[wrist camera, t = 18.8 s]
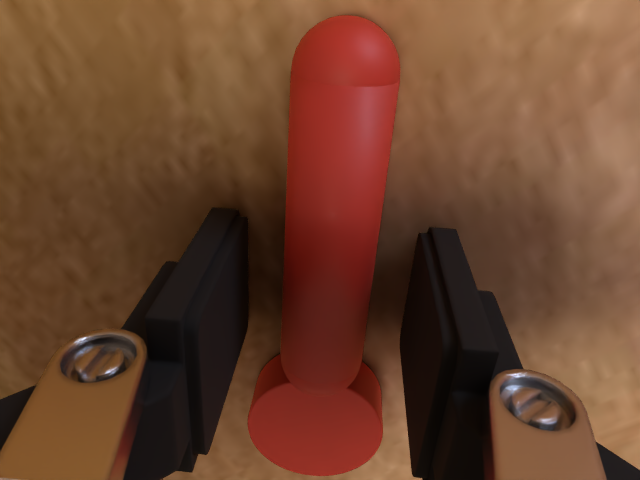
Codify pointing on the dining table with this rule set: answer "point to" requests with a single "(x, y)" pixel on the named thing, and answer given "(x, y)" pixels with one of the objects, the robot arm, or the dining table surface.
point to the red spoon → (330, 252)
